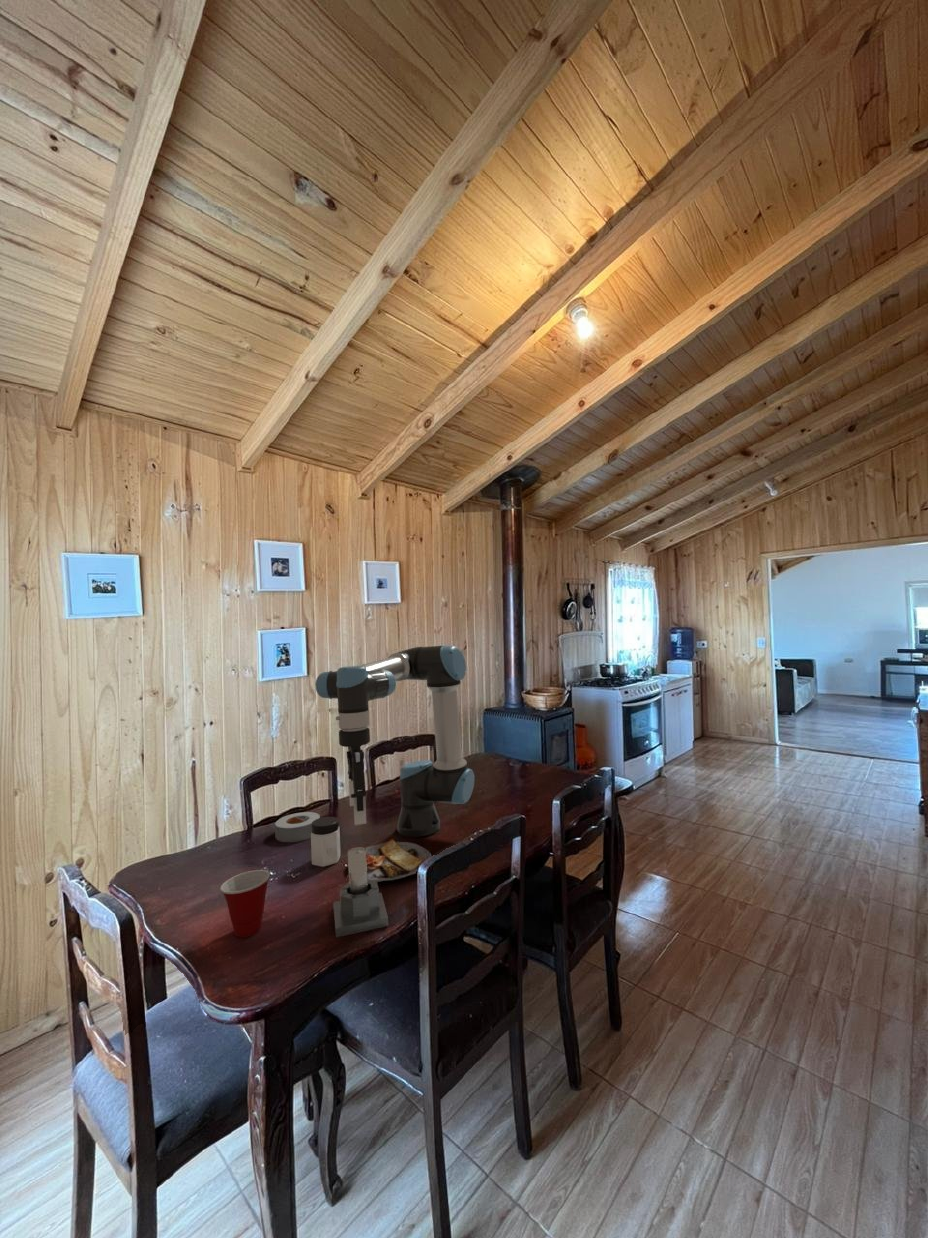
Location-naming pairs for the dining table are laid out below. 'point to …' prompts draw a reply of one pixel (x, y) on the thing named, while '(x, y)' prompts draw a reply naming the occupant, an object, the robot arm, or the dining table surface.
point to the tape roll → (295, 827)
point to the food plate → (394, 859)
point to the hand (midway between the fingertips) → (357, 814)
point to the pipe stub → (357, 871)
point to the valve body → (359, 910)
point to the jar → (325, 841)
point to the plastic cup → (246, 900)
